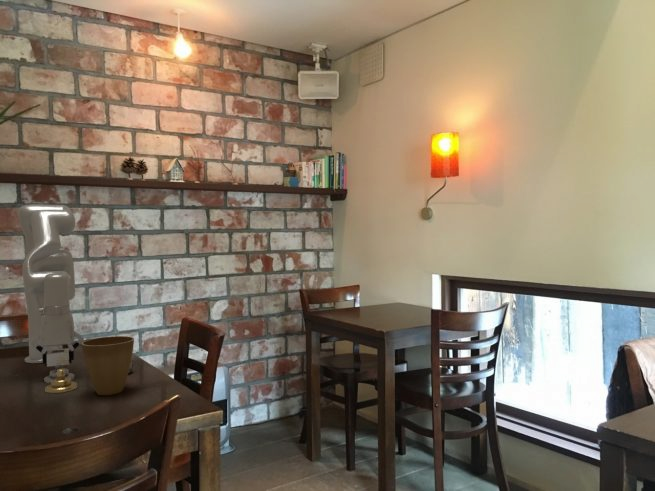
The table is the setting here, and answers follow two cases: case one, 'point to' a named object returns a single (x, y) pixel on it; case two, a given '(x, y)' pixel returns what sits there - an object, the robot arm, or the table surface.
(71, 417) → the table surface
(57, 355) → the square sleeve
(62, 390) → the hub
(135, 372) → the table surface
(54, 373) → the stand
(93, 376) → the plant pot
